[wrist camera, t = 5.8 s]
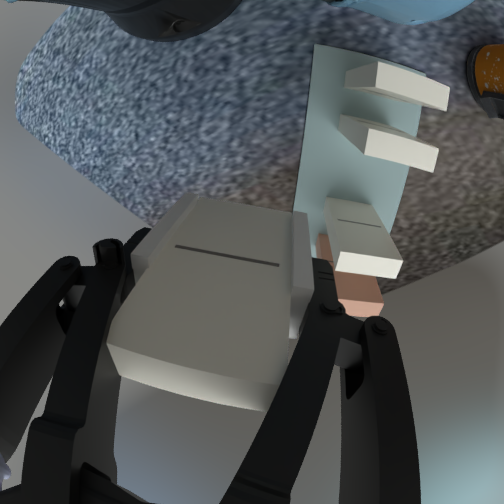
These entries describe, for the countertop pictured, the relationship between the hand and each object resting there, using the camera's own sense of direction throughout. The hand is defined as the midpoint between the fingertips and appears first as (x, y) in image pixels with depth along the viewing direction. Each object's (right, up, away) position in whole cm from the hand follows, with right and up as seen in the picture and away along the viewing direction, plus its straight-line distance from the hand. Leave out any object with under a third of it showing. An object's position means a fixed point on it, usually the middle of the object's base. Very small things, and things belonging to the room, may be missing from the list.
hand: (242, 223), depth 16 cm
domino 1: (0, 0, +1) cm, 1 cm away
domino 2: (+12, +15, +6) cm, 20 cm away
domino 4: (+11, +3, +14) cm, 18 cm away
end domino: (+11, -1, +16) cm, 20 cm away
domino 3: (+12, +11, +9) cm, 18 cm away
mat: (+12, +7, +12) cm, 18 cm away
